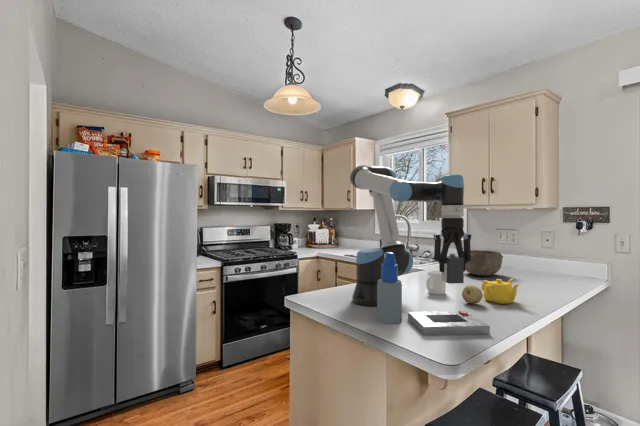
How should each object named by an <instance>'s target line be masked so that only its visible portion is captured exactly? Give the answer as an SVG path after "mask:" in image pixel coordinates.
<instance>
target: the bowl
mask: <svg viewBox="0 0 640 426" xmlns="http://www.w3.org/2000/svg"><path fill="white" fill-rule="evenodd" d="M463 252H464V250H463ZM470 252H471V260H470V261H468V262H467V263H465V272H467V273H469V274H471V275H473V276H475V275H476V276H491V275H492V276H493V275H495V274H497V273H498V272H499V271H500V270H501V268H502V265H503V259H504V256H503V255H504V254H503V255H502V253H501V252H500V251H497V250H488V249H487V250H486V249H484V250H482V249H470Z"/></svg>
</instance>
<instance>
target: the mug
mask: <svg viewBox="0 0 640 426" xmlns="http://www.w3.org/2000/svg"><path fill="white" fill-rule="evenodd" d="M446 283H447V282H444V281H442V280H441V272H440V271H439V270H428V271H427V279H426V283H425V286H426V290H427V292H428V294H430V295H440V296H442V295H444V294H446V290H447V289H446V286H447V285H446Z"/></svg>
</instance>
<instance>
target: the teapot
mask: <svg viewBox="0 0 640 426" xmlns="http://www.w3.org/2000/svg"><path fill="white" fill-rule="evenodd" d="M513 280H514V278H510V279H508V281H507V282H506V281H503V279H501V278H496V279H495V280H492V281H489V280H486V279H484V280H483V281H482V284H481V288H480V290H481V291H483V298H484V299H485V301H487V302H490V303H494V304H498V305H499V304H501V305H505V304H506V305H507V304H508V305H509V304H511V303H514V301H515V299H516V296H517V288H518V287H519V286H520V284H514V285H512V282H513Z"/></svg>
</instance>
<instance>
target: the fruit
mask: <svg viewBox="0 0 640 426" xmlns="http://www.w3.org/2000/svg"><path fill="white" fill-rule="evenodd" d="M482 291H483V290H482V289H481V288H479V287H478V286H476V285H473V284H472V285H466V286H465V287H463V290H462V292H461V296H462V298H463V300H464V301H465V302H466V303H468V304H471V305H475V304H479V303H480V302H481V301H482V299H483V298H484V293H483V292H482Z"/></svg>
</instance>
